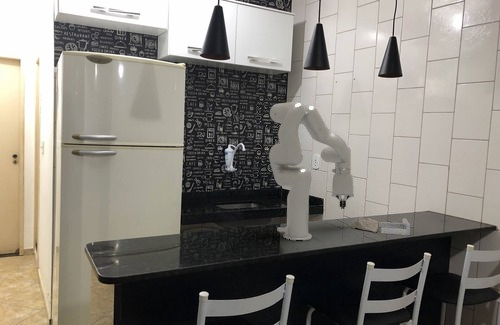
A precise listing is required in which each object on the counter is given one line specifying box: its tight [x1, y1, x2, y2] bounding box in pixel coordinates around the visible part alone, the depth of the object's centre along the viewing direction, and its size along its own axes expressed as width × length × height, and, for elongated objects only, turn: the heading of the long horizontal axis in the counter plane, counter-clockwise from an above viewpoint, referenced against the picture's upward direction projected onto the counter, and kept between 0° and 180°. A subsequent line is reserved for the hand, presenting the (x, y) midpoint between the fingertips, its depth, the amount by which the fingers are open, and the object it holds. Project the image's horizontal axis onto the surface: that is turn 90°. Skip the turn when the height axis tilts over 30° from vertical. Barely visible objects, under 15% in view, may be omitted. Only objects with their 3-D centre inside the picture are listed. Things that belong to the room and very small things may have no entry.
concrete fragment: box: [350, 216, 380, 233], centre depth 196 cm, size 7×14×6 cm, turn 38°
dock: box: [378, 217, 411, 236], centre depth 194 cm, size 12×15×5 cm
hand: (342, 208), depth 200 cm, fingers closed
